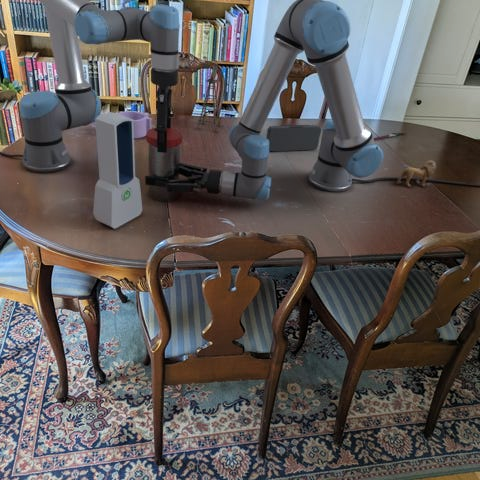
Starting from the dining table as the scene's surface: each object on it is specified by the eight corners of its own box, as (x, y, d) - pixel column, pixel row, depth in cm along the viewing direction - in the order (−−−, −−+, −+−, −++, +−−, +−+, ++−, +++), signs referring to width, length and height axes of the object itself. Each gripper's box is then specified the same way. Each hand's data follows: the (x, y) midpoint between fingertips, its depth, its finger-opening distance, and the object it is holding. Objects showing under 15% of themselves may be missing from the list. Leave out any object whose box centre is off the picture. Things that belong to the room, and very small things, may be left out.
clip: (101, 139, 182) (100, 121, 178) (98, 128, 192) (97, 111, 188) (152, 137, 188) (152, 120, 184) (147, 126, 198) (147, 110, 194)
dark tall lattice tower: (215, 132, 200) (220, 59, 184) (196, 129, 201) (199, 56, 185) (220, 125, 207) (225, 54, 191) (202, 122, 208) (205, 52, 192)
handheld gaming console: (315, 147, 196) (319, 124, 190) (317, 149, 194) (322, 126, 188) (264, 149, 189) (267, 125, 183) (266, 152, 187) (269, 127, 181)
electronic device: (112, 230, 128) (105, 125, 112) (93, 221, 131) (83, 117, 115) (143, 213, 137) (140, 113, 121) (124, 205, 140) (119, 106, 124)
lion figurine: (423, 179, 178) (431, 157, 173) (433, 186, 174) (440, 163, 169) (391, 182, 173) (398, 160, 168) (400, 189, 169) (407, 166, 164)
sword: (401, 132, 223) (402, 129, 222) (407, 134, 221) (407, 131, 220) (358, 143, 207) (358, 140, 206) (363, 145, 205) (364, 143, 204)
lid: (188, 144, 139) (188, 136, 138) (158, 150, 133) (158, 142, 132) (169, 132, 146) (169, 125, 144) (140, 138, 140) (139, 130, 138)
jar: (145, 189, 151) (144, 131, 140) (173, 186, 154) (174, 129, 144) (153, 202, 144) (153, 142, 133) (182, 199, 148) (184, 140, 137)
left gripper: (155, 58, 137) (156, 130, 149) (144, 78, 118) (146, 159, 130) (181, 60, 138) (179, 132, 150) (174, 80, 119) (173, 161, 131)
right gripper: (214, 210, 138) (140, 200, 138) (224, 178, 156) (159, 170, 157) (216, 187, 133) (139, 177, 134) (226, 157, 152) (158, 149, 153)
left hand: (164, 144), depth 140 cm, fingers closed on lid, 10 cm apart
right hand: (150, 173), depth 146 cm, fingers closed on jar, 9 cm apart
